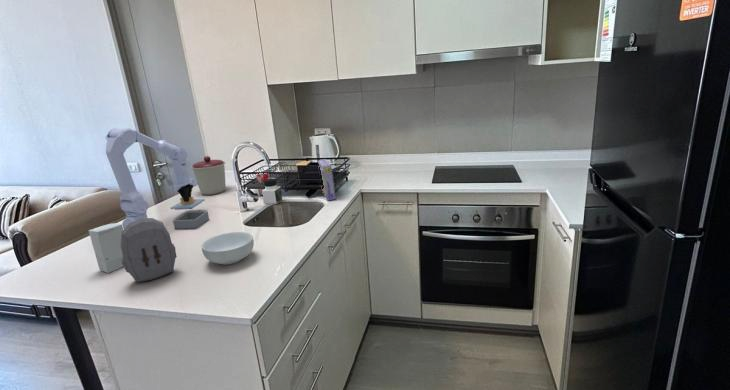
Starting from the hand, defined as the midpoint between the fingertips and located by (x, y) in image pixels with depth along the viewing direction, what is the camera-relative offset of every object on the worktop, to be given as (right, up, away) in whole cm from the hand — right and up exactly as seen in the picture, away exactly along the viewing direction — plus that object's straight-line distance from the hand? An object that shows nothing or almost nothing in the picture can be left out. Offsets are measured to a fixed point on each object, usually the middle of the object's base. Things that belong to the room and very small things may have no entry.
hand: (187, 200), depth 181 cm
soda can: (+30, +3, +26) cm, 40 cm away
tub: (+8, -10, -12) cm, 18 cm away
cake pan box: (+65, +2, +15) cm, 67 cm away
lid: (0, -2, +1) cm, 3 cm away
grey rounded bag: (+17, -24, -59) cm, 66 cm away
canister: (-3, +4, +38) cm, 38 cm away
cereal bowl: (+38, -19, -50) cm, 66 cm away
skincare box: (-2, -22, -49) cm, 54 cm away
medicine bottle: (+38, -1, +12) cm, 40 cm away
